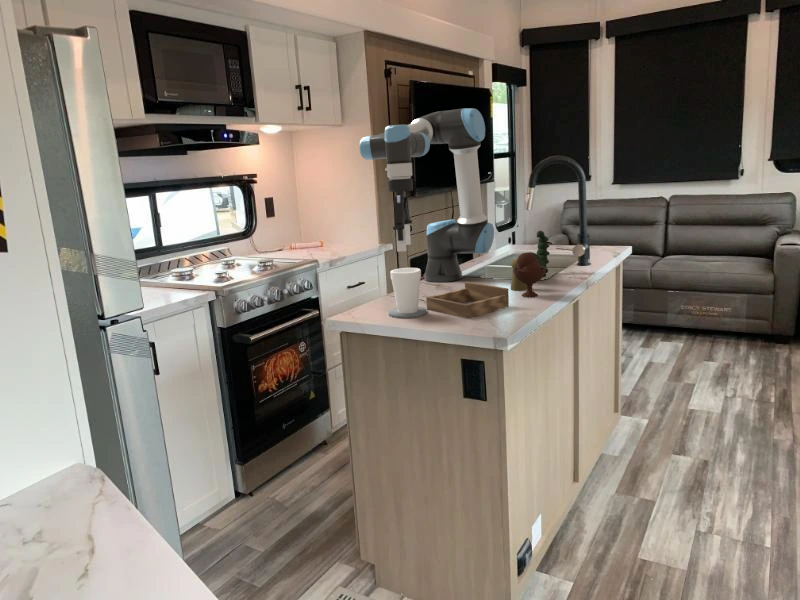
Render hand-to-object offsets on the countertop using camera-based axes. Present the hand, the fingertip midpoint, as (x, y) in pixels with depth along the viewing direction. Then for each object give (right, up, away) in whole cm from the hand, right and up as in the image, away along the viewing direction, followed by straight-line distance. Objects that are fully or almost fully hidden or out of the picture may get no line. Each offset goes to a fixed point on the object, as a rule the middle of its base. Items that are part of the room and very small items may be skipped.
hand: (404, 248), depth 192 cm
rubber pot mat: (+1, -20, +4) cm, 21 cm away
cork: (+41, -12, +30) cm, 52 cm away
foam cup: (+1, -20, +4) cm, 20 cm away
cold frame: (+20, -19, +6) cm, 28 cm away
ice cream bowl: (+43, -15, +19) cm, 49 cm away
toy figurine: (+50, -8, +47) cm, 69 cm away
